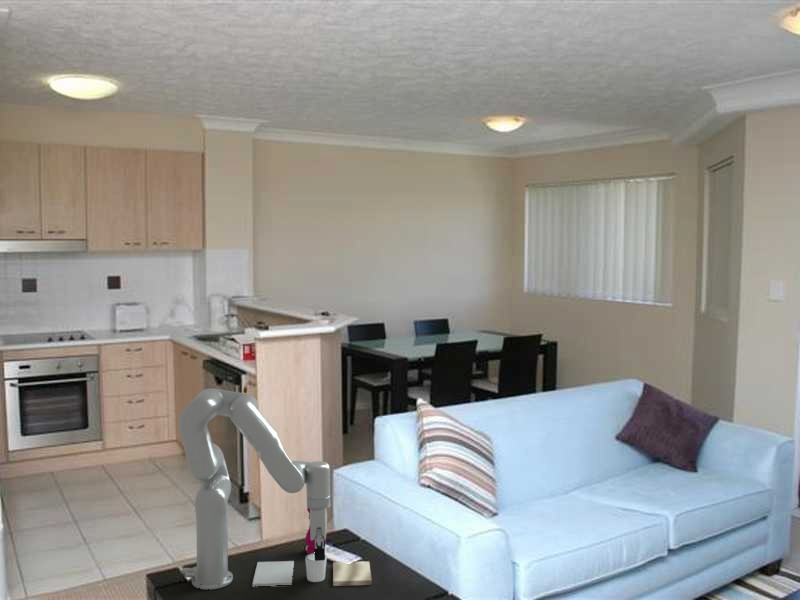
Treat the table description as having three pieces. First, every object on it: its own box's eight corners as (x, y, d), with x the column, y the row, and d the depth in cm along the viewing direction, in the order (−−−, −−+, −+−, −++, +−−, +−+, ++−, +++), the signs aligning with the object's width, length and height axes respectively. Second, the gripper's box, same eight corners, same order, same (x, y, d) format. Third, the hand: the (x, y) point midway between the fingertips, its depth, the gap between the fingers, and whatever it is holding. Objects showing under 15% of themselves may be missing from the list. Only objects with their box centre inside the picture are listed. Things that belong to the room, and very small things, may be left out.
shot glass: (323, 583, 228) (323, 562, 227) (302, 581, 229) (302, 560, 228) (329, 574, 234) (329, 553, 234) (309, 572, 236) (309, 551, 235)
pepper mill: (330, 551, 253) (330, 495, 251) (317, 558, 246) (317, 500, 245) (314, 546, 256) (314, 491, 255) (300, 553, 250) (301, 496, 249)
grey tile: (252, 587, 225) (252, 583, 225) (257, 564, 241) (257, 562, 241) (291, 585, 226) (291, 582, 226) (294, 563, 242) (294, 561, 242)
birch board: (333, 586, 226) (333, 581, 226) (333, 566, 240) (333, 562, 240) (371, 584, 227) (371, 580, 227) (369, 565, 241) (369, 561, 241)
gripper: (307, 492, 238) (309, 543, 239) (305, 511, 221) (307, 566, 222) (330, 491, 239) (331, 542, 240) (330, 510, 222) (331, 564, 223)
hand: (320, 553), depth 231 cm, fingers open, 9 cm apart
